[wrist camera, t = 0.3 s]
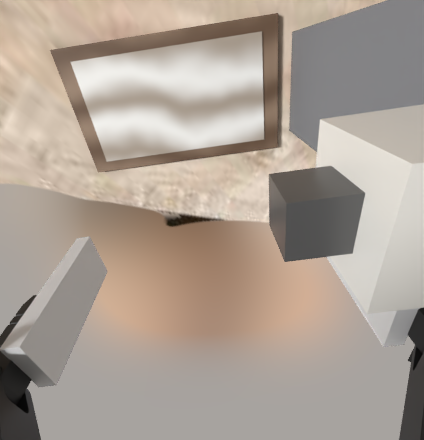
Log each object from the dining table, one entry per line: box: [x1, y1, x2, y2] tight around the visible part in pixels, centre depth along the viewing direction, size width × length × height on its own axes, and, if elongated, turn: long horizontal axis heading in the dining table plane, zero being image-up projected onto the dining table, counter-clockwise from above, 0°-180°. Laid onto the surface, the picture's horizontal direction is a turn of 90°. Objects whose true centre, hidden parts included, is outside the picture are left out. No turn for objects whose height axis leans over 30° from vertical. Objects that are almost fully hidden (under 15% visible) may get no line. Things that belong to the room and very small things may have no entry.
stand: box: [289, 0, 424, 152], centre depth 22 cm, size 13×13×30 cm
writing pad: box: [50, 13, 278, 172], centre depth 35 cm, size 16×28×1 cm, turn 97°
